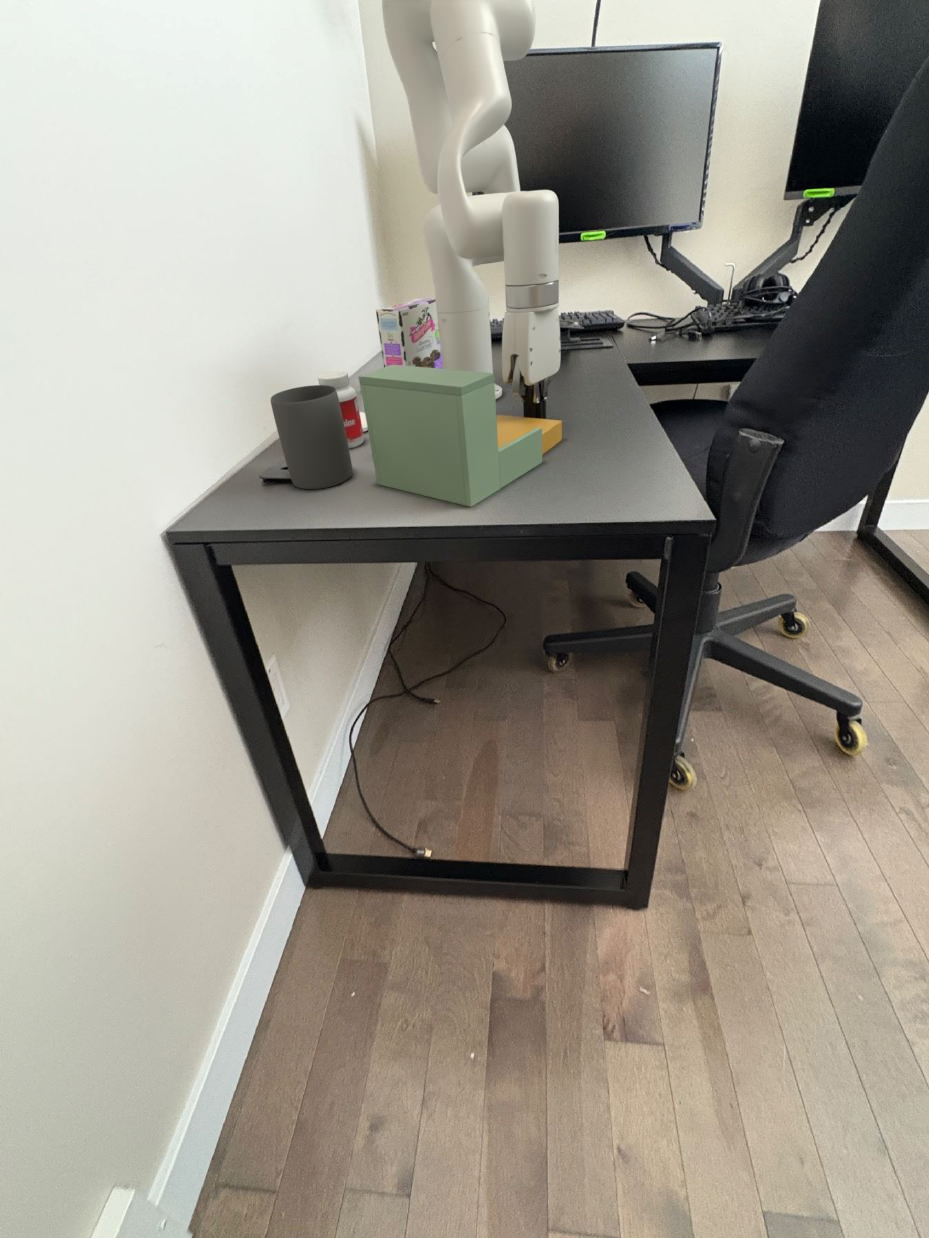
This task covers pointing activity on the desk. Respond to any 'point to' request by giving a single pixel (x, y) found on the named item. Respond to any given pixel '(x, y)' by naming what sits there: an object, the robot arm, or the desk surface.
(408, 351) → the candy box
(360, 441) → the pill bottle
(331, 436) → the mug
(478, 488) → the green block
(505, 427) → the orange flat block
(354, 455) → the desk surface
